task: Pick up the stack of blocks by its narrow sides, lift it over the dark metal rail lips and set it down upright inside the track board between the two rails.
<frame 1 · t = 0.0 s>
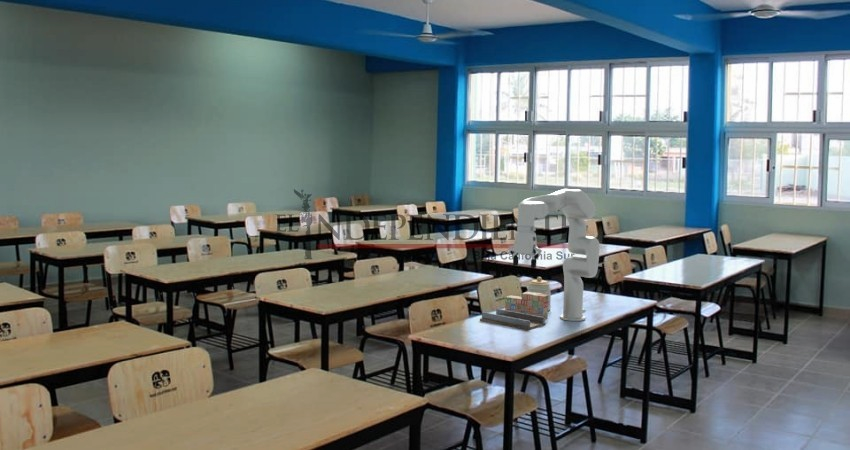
hand: (524, 266, 347), 31 cm above the table, tool pointing down, fingers open, 9 cm apart
stack of blocks: (526, 316, 388), on the table
jar: (538, 309, 405), on the table
track: (512, 322, 372), on the table
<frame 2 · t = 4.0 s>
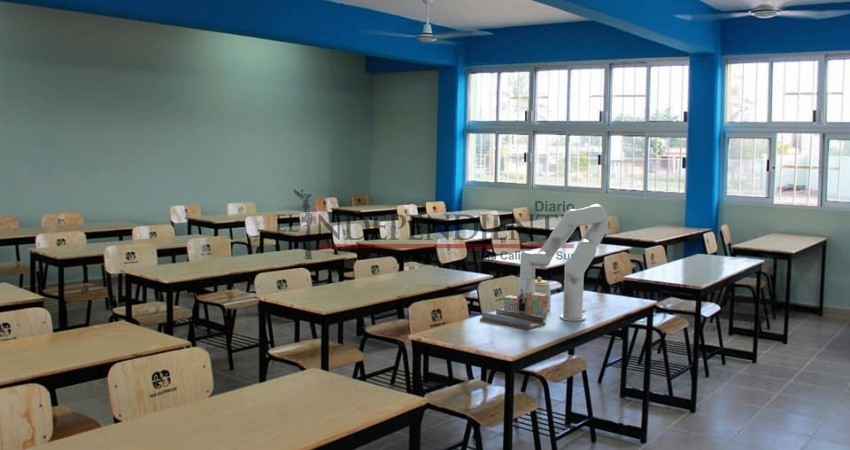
hand: (526, 309, 387), 3 cm above the table, tool pointing down, fingers open, 7 cm apart
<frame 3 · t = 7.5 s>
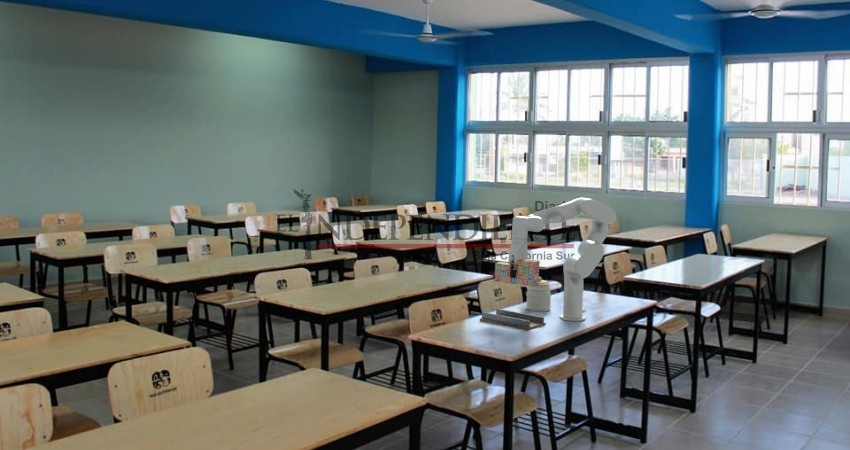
hand: (517, 276, 375), 22 cm above the table, tool pointing down, fingers closed on stack of blocks, 7 cm apart
stack of blocks: (516, 283, 375), point 18 cm above the table, touching gripper
everything else where it was.
when the fingers open (6 cm above the table, at t = 10.9 s): stack of blocks drops 1 cm, resting on track.
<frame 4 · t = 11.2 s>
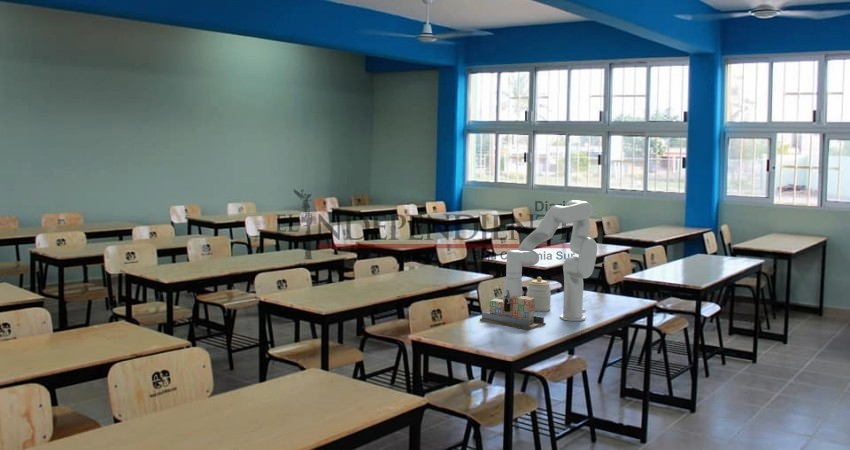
hand: (512, 310, 371), 6 cm above the table, tool pointing down, fingers open, 9 cm apart
stack of blocks: (511, 320, 372), point 1 cm above the table, touching track
everything else where it was.
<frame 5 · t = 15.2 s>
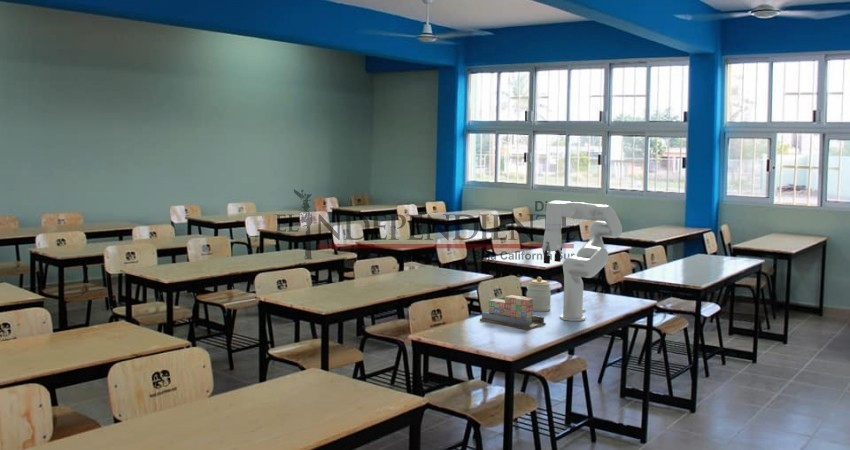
hand: (552, 262, 368), 30 cm above the table, tool pointing down, fingers open, 9 cm apart
at the end: stack of blocks inside the target area on the track (1.2 cm from its centre), point 0.8 cm above the track's base; stack of blocks tilted 0°; the gripper is holding nothing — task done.
